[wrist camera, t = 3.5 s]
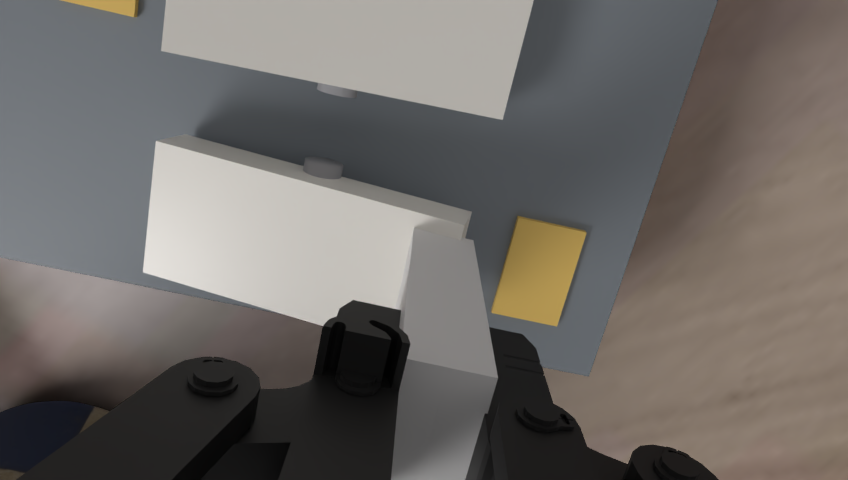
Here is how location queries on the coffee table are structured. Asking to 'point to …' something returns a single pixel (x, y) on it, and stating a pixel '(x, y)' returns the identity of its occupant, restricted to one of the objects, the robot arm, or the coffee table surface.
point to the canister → (40, 432)
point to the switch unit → (357, 147)
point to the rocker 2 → (281, 229)
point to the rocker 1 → (364, 45)
